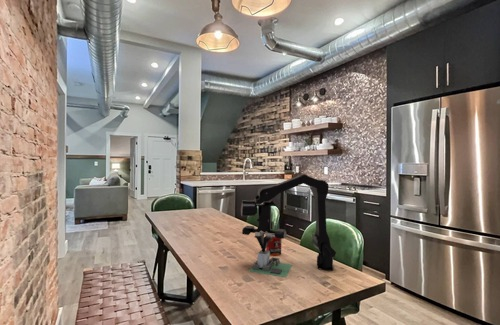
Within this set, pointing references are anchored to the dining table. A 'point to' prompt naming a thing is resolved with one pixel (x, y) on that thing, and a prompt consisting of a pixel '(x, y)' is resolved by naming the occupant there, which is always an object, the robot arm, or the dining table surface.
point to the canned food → (274, 246)
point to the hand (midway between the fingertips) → (263, 251)
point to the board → (275, 268)
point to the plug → (263, 258)
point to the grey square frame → (265, 268)
